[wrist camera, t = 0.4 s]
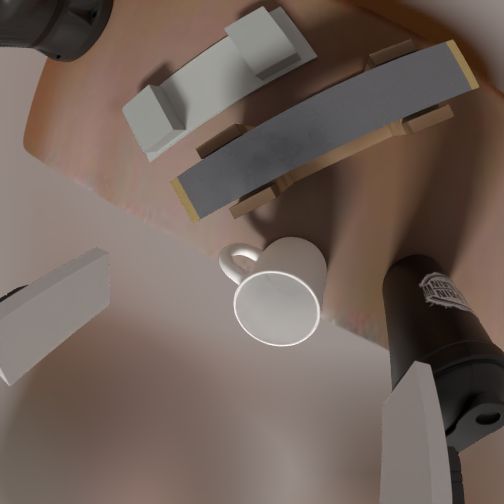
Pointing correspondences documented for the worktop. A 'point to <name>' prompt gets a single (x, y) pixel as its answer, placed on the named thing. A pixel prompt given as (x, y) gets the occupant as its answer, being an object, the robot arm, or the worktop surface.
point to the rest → (217, 79)
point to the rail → (324, 125)
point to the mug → (278, 289)
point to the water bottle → (444, 348)
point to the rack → (284, 181)
